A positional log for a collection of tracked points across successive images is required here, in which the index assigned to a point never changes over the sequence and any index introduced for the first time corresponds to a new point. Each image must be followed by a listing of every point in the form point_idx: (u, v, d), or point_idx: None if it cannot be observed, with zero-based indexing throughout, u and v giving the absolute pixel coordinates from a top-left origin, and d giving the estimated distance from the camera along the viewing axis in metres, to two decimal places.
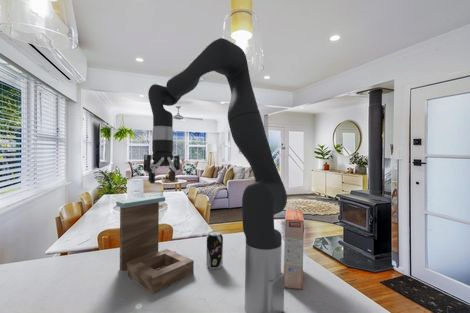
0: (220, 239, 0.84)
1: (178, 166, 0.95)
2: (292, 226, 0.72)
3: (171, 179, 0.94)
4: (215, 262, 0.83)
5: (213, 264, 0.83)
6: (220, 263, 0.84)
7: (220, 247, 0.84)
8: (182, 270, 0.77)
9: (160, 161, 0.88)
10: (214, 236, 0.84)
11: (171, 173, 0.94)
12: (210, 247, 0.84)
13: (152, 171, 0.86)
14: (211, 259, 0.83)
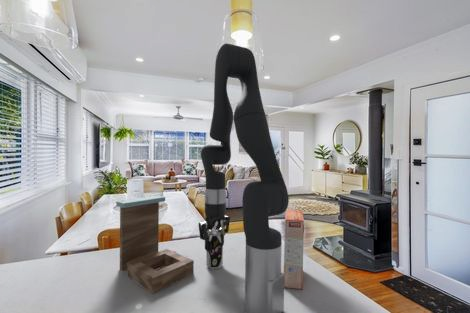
0: (220, 239, 0.84)
1: (227, 229, 0.89)
2: (292, 226, 0.72)
3: None
4: (215, 262, 0.83)
5: (213, 264, 0.83)
6: (220, 263, 0.84)
7: (220, 247, 0.84)
8: (182, 270, 0.77)
9: (214, 226, 0.83)
10: (214, 236, 0.84)
11: None
12: None
13: (209, 239, 0.82)
14: (211, 259, 0.83)
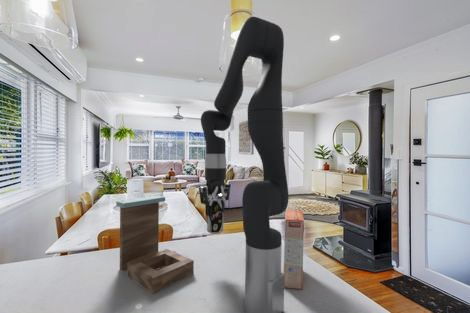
0: (220, 204, 0.84)
1: (227, 196, 0.89)
2: (292, 226, 0.72)
3: None
4: (216, 227, 0.83)
5: (213, 229, 0.83)
6: (221, 228, 0.84)
7: (221, 212, 0.84)
8: (182, 270, 0.77)
9: (215, 191, 0.83)
10: (214, 201, 0.84)
11: None
12: None
13: (210, 204, 0.82)
14: (212, 224, 0.83)
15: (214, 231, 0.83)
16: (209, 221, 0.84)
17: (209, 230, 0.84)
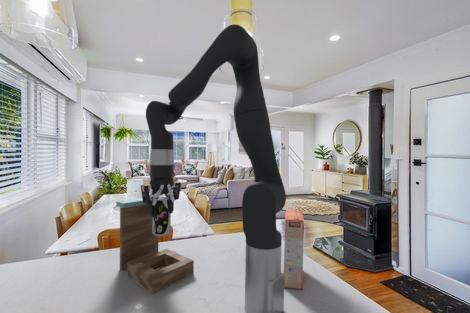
0: (166, 204, 0.77)
1: (177, 195, 0.82)
2: (292, 226, 0.72)
3: None
4: (160, 229, 0.76)
5: (157, 231, 0.76)
6: (166, 230, 0.77)
7: (167, 213, 0.78)
8: (182, 270, 0.77)
9: (160, 190, 0.77)
10: (159, 201, 0.77)
11: None
12: None
13: (153, 203, 0.75)
14: (156, 225, 0.76)
15: (158, 233, 0.76)
16: (153, 222, 0.77)
17: (153, 232, 0.77)
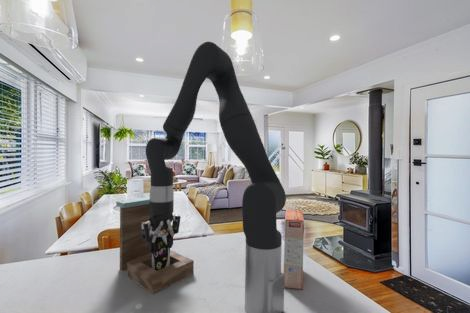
0: (166, 240, 0.78)
1: (176, 229, 0.83)
2: (292, 226, 0.72)
3: None
4: (160, 266, 0.77)
5: (157, 267, 0.77)
6: (166, 266, 0.78)
7: (166, 249, 0.78)
8: (182, 270, 0.77)
9: (159, 227, 0.77)
10: (159, 237, 0.77)
11: None
12: None
13: (152, 241, 0.76)
14: (155, 262, 0.77)
15: None
16: (153, 258, 0.77)
17: (153, 268, 0.77)
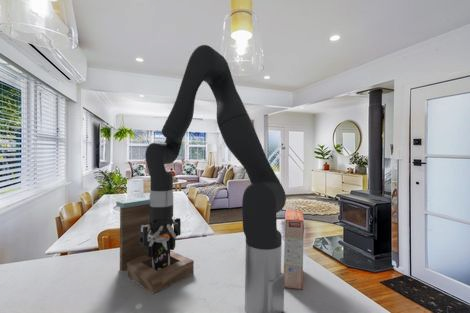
0: (166, 246, 0.77)
1: (179, 231, 0.83)
2: (292, 226, 0.72)
3: (171, 247, 0.82)
4: None
5: None
6: None
7: (166, 254, 0.78)
8: (182, 270, 0.77)
9: (158, 231, 0.77)
10: (159, 243, 0.77)
11: (171, 240, 0.82)
12: (154, 254, 0.77)
13: (149, 244, 0.75)
14: (155, 268, 0.77)
15: None
16: (153, 264, 0.77)
17: None
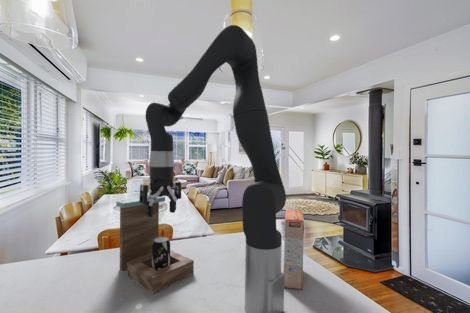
0: (166, 246, 0.77)
1: (179, 194, 0.83)
2: (292, 226, 0.72)
3: (171, 210, 0.82)
4: None
5: None
6: None
7: (166, 254, 0.78)
8: (182, 270, 0.77)
9: (159, 191, 0.76)
10: (159, 243, 0.77)
11: (171, 203, 0.82)
12: (154, 254, 0.77)
13: (149, 204, 0.75)
14: (155, 268, 0.77)
15: None
16: (153, 264, 0.77)
17: None
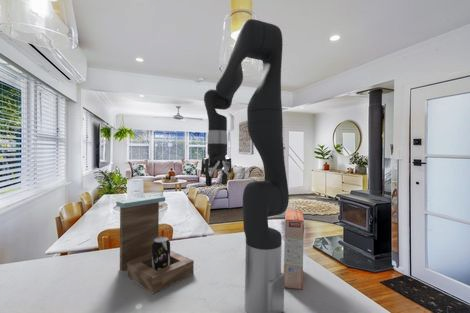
0: (166, 246, 0.77)
1: (230, 169, 0.96)
2: (292, 226, 0.72)
3: (224, 182, 0.95)
4: None
5: None
6: None
7: (166, 254, 0.78)
8: (182, 270, 0.77)
9: (216, 164, 0.89)
10: (159, 243, 0.77)
11: (224, 176, 0.95)
12: (154, 254, 0.77)
13: (210, 174, 0.88)
14: (155, 268, 0.77)
15: None
16: (153, 264, 0.77)
17: None
